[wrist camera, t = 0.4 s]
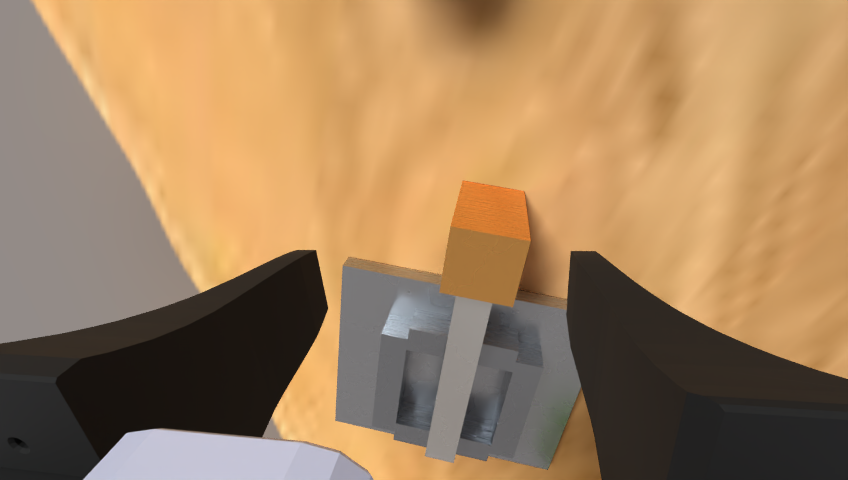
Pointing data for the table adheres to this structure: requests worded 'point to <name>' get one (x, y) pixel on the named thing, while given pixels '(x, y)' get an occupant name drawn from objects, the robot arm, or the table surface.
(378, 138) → the table surface
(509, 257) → the pin
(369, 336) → the dock
